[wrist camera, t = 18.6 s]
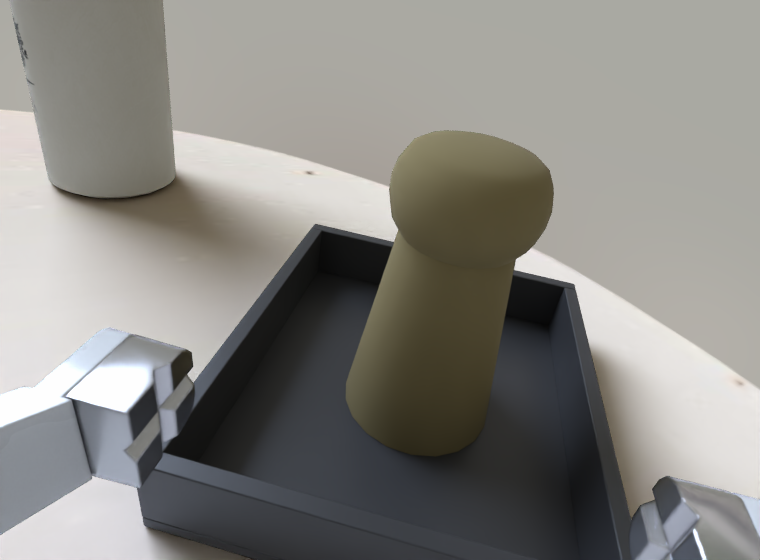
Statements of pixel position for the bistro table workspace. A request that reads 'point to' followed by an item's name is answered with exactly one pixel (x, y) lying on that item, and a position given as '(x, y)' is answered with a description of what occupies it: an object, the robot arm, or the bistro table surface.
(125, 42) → the travel mug
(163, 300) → the bistro table surface
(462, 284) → the olive pawn
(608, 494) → the bin
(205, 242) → the bistro table surface
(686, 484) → the robot arm
